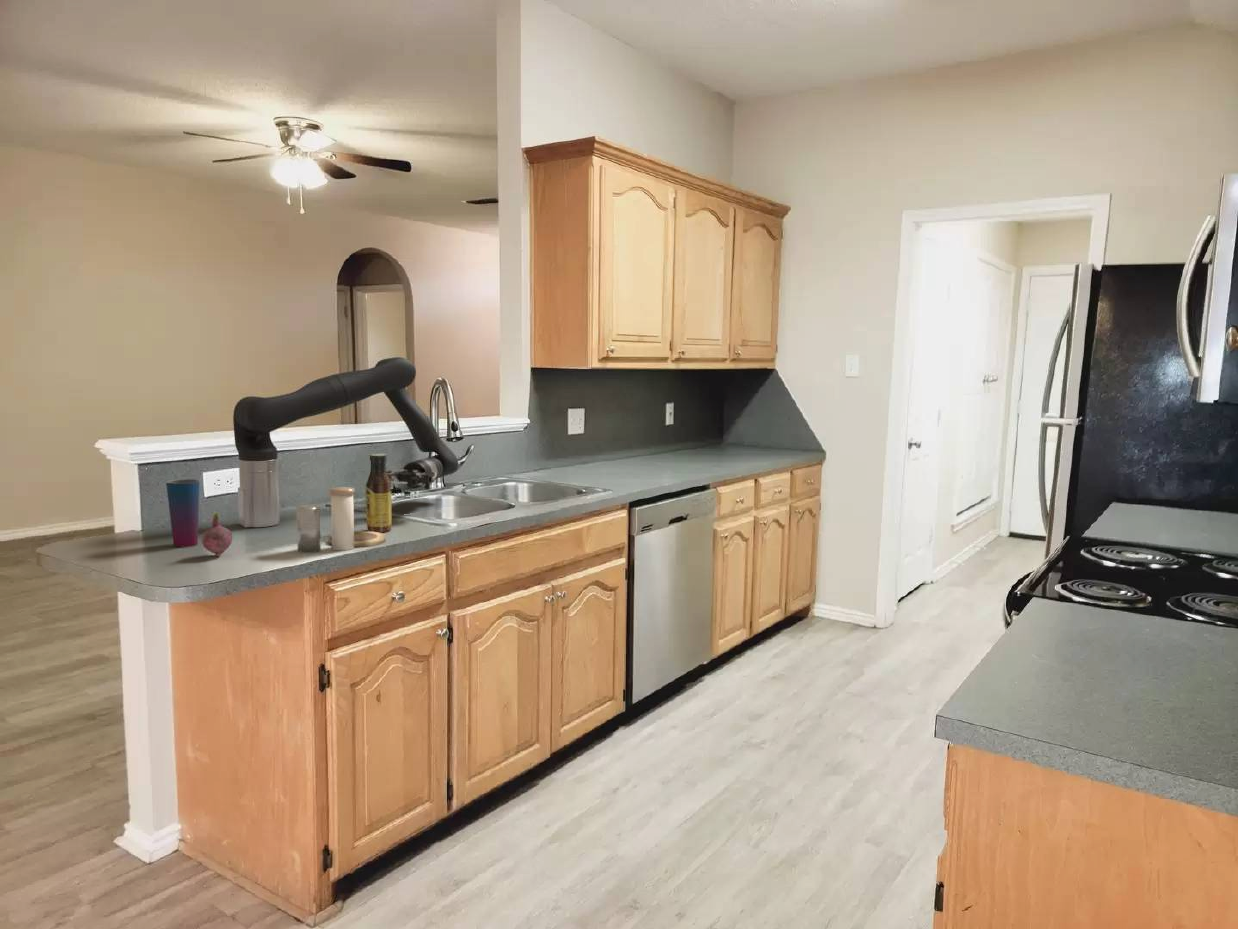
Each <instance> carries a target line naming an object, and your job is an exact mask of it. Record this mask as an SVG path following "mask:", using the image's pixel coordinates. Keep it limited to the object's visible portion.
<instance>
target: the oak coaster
mask: <svg viewBox="0 0 1238 929" xmlns="http://www.w3.org/2000/svg"><path fill="white" fill-rule="evenodd" d="M386 539H387V537H386V534H384V533H383V532H370V531H369V530H367V531H365V530H362V531H361V530H358V531H357V530H356V531H355V530H354V548H361V547H360V546H367V547H373V546H377V545H381V544H384V543H385V542H386ZM328 542H330V543H329V544H330V545H331V544H332V535H330V536H329V541H328ZM358 546H359V547H358Z"/></svg>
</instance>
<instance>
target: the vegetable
mask: <svg viewBox="0 0 1238 929" xmlns="http://www.w3.org/2000/svg"><path fill="white" fill-rule="evenodd" d="M212 518H213V519H212V525H211V527H210V528H209V529H207V530H205V531H204V533H203V534H202V538H201V544H202V546H203V547H204V549H206V550H207V551H208V552H210V553H213V554H214V555H215V556H221V555H222V554H224V553H225V551H227V550H228V549H229V547H230V546H231V545H232V542H233V539H234V536H233V534H232V532H231V530H229V529H228V528H226V527H224V526H222V525H220V523H219V512H218V511H217V512H215V514H213V517H212Z"/></svg>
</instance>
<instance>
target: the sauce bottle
mask: <svg viewBox="0 0 1238 929" xmlns="http://www.w3.org/2000/svg"><path fill="white" fill-rule="evenodd" d="M369 460H370V461H369V462H370V469H369V470H370V472H369V474H368V478H367V481H366V484H365V497H366V498H365V504H366V505H365V506H366V507H365V508H366V509H365V510H366V511H365V512H366V515H365V516H366V528H367V531H370V532H379V533H386V532H388V531H391V530H392V522H393V517H392V516H393V515H392V514H393V513H392V512H393V511H392V510H393V509H392V485H391V484H392V483H391V480H390V478H389V476H388V475H387V473H386V471H387V466H386V464H387V453H381V452H380V453H371V454H370V455H369Z"/></svg>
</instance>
